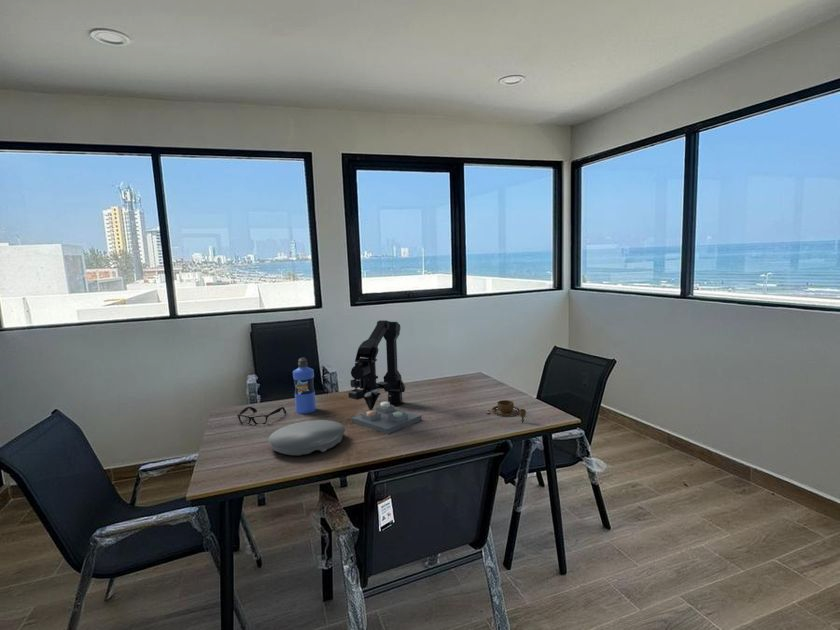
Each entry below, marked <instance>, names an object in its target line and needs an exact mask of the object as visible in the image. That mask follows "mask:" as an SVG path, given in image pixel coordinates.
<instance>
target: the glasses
mask: <svg viewBox="0 0 840 630" xmlns="http://www.w3.org/2000/svg"><path fill="white" fill-rule="evenodd" d="M248 409H250V410H251V411H252V412H253V413H256V412H258V411H257V409H256V408H255V407H252V406H247V407H245V408H244V409H242V410H241V411H240V412H239V413H238V414H237V417H238V420H239V422H240V423H241V424H242V423H244V422H243V421H242V420H241V417H244V418H247V419H248V423H247V422H246V424H245V425H250V424H251V422H253V424H255V425H265V424H266V423H267V422H268V418H269V417H270V416H272V415H275V414H277V413H280V412H281V411H283V413H285V412H286V411H287V410H286V408H285V407H284V406H281V407H278V408H276V409H274V411H271V412H270V413H267V414H262V415H255V416H248V415H243V414H244V413H246V412H247V411H248ZM255 411H256V412H255ZM260 417H262V418H263V417H264V418H265V421H264V422H262V423H258V422H257V421H256V420H255V418H260Z"/></svg>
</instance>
